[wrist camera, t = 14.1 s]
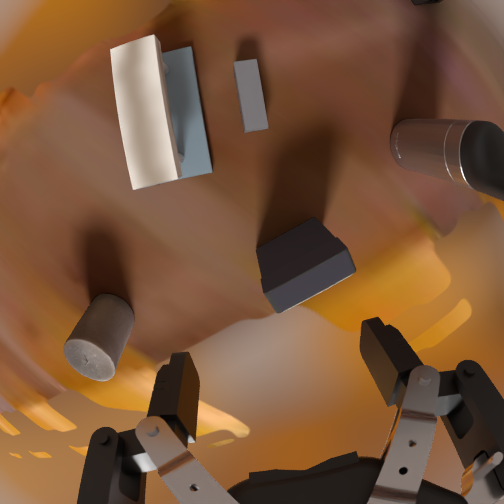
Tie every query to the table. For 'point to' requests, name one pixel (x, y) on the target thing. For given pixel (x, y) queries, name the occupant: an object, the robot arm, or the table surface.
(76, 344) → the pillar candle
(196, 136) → the peg stand
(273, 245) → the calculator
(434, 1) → the phone stand
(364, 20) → the table surface
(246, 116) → the block
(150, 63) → the shelf board
